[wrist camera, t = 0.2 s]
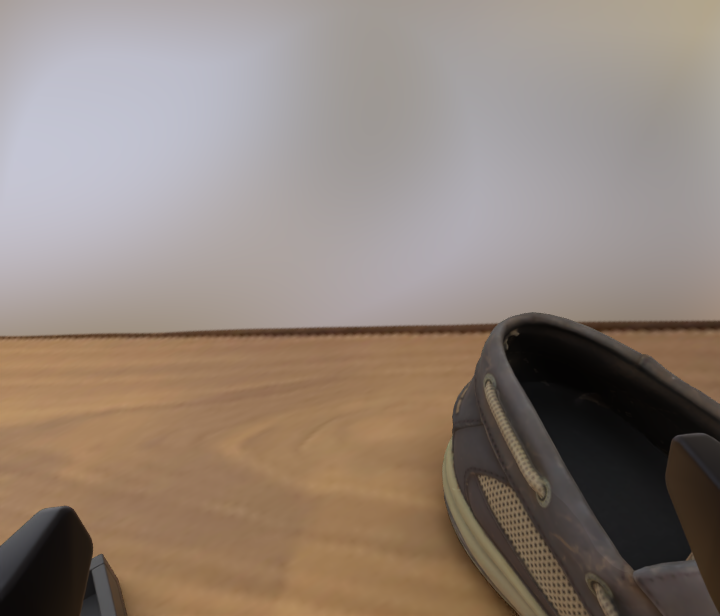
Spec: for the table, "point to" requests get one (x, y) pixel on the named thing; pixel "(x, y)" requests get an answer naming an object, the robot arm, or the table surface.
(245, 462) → the table surface
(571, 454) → the boat shoe
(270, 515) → the table surface
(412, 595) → the table surface
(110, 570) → the tray
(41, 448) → the table surface
